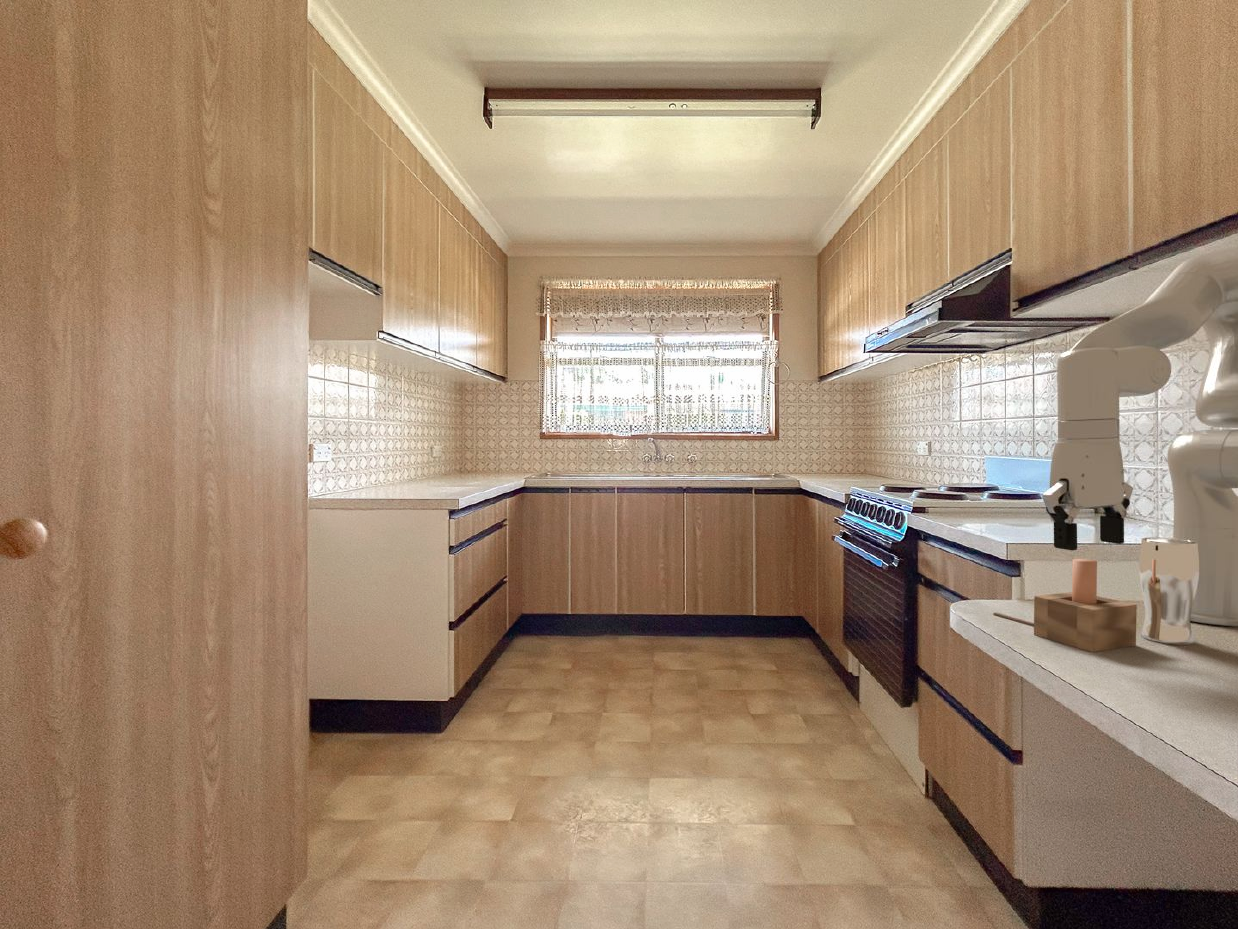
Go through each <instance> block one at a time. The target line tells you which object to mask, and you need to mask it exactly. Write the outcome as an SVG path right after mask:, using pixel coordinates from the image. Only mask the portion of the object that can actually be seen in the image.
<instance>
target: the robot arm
mask: <svg viewBox="0 0 1238 929" xmlns="http://www.w3.org/2000/svg"><path fill="white" fill-rule="evenodd" d="M1202 327H1203V330H1204V332H1205V335H1206V337H1207V339H1208V343H1209V355H1208V360H1207V363H1206V367H1205V371H1204V373H1203V376H1202V380H1201V383H1200V386H1199V390H1198V393H1197V396H1196V401H1195V405H1194V406H1195V408H1194V409H1195V417H1196V418H1197V419H1198V420H1199V421H1200V422H1201V423H1202V424H1204V425H1205V426H1209V427H1214V428H1221V429H1203V430H1195V431H1190V432H1186V433H1183V434H1181V435H1179V436H1178V437H1176V438H1175V439H1173V440H1172V442H1171V443H1170V445H1169V447H1168V450H1167V454H1166V456H1167V466H1168V470H1169V475H1170V479H1171V483H1172V484H1171V485H1172V486H1171V487H1172V494H1173V532H1172V533H1173V534H1172V538H1176V539H1185V540H1191V541H1196V542H1198V553H1199V581H1198V587H1197V591H1196V595H1195V599H1194V603H1193V607H1192V611H1191V622H1194V623H1199V624H1208V625H1214V626H1215V625H1216V626H1226V627H1227V626H1228V627H1238V495H1237V494H1236V492H1235V491H1234V490H1233V489H1238V246H1234V247H1229V248H1225V249H1221V250H1215V251H1212V252H1207V253H1203V254H1199V255H1196V256H1193V257H1191V258H1189V259H1187V260H1185V261H1183V262H1182V263H1181V264H1179V265H1178V266H1177V267H1176V268H1175V269H1174V270H1173V271H1172V272H1171V273H1170V274H1169V275H1168V277H1167V278H1166V279H1165V280H1164V281H1163V282H1162V283H1161V284H1160V285H1159V286H1158V287H1157V289H1155V291H1154V292H1153V293H1151V295H1150V296H1149V297H1148V298H1147V299H1146V300H1145V301H1144V302H1143V303H1142V304H1140V305H1138V306H1136V307H1135V308H1132V309H1129V310H1128V311H1126V312H1124V313H1122V314H1121V315H1119V316H1117V317H1115V318H1113V319H1111V320H1109V321H1107V322H1106V323H1104V324H1101V325H1100V326H1098V327H1096V328H1095V329H1093V330H1092V331H1089V333H1087V334H1086V335H1085V336H1083V337H1082V338H1081V339H1079V341H1078V342H1076V344H1075V345H1074V346H1073V347H1072V348H1070V350H1068V351H1065V352H1063V353H1061V354H1060V355H1059V357H1058V358H1057V362H1056V363H1057V364H1056V366H1057V367H1056V368H1057V369H1056V370H1057V371H1056V374H1057V375H1056V383H1057V392H1056V393H1057V442H1054V448H1053V451H1052V456H1051V463H1050V472H1049V474H1050V475H1049V489H1047V491H1045V492H1044V493H1042V501H1043V503H1044V506H1045V507H1046V508H1045V511H1046V512H1047V514H1048V515H1049V517H1050V518H1049V519H1050V521H1051V522H1053V546H1054V548H1055V549H1060V550H1067V551H1077V549H1078V524H1077V523H1078V522H1077V523H1075V522H1074V521H1075V519H1076V518H1077V516H1078V514H1079V513H1080V510H1091V509H1099V510H1100V511H1101V513H1102V514H1103V515H1100V516H1099V528H1100V529H1099V540H1100V541H1101V542H1102V543H1109V544H1117V545H1122V544H1124V543H1125V518H1126V517H1127V515H1128V513H1127V509H1128V508H1129V506H1130V503H1131V501H1130V500H1131V497H1132V494H1133V490H1134V488H1133V486H1132V485H1131V484H1129V483H1127V482H1126V481H1125V474H1124V473H1125V472H1124V461H1123V454H1122V449H1121V445H1120V444H1121V443H1120V436H1121V435H1120V430H1121V427H1120V398H1129V397H1141V396H1147V395H1151V394H1154V393H1155V392H1158V391H1159V390H1161V389H1162V388H1164V386H1165V385H1167V383H1168V381H1169V380H1170V378H1171V375H1172V374H1171V373H1172V363H1171V360H1170V359H1169V357H1168V356H1167V354H1166V353H1165V352H1163V351H1162V350H1163V349H1167V348H1170V347H1172V346H1176V345H1177V344H1178V345H1179V344H1180V343H1182V342H1185V341H1187V340H1188V339H1190V338H1192V337H1193V336H1194V335H1196V334H1197V332H1198V331H1199V330H1200V329H1201V328H1202ZM1225 428H1226V429H1225ZM1227 428H1228V429H1227ZM1230 428H1231V429H1230ZM1065 510H1068V511H1065Z"/></svg>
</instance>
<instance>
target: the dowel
mask: <svg viewBox="0 0 1238 929" xmlns="http://www.w3.org/2000/svg"><path fill="white" fill-rule="evenodd" d="M1071 572H1072V574H1071V575H1072V577H1071V578H1072V580H1071V581H1072V582H1071V583H1072V584H1071V585H1072V586H1071V588H1072V589H1071V592H1072V601H1073V602H1077V603H1081V604H1086V605H1094V604H1096V600H1097V596H1098V595H1097V592H1098V590H1097V589H1098V587H1097V586H1098V580H1097V579H1098V560H1094V559H1089V558H1088V559H1087V558H1072V571H1071Z"/></svg>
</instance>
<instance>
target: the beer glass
mask: <svg viewBox="0 0 1238 929" xmlns="http://www.w3.org/2000/svg"><path fill="white" fill-rule="evenodd" d="M1138 559H1139V560H1138V576H1139V581H1140V582H1139V583H1140V588H1141V593H1142V594H1141V595H1142V598H1143V603H1144V604H1143V605H1144V620H1143V624H1142V628H1141V632H1140V633H1141V634H1140V635H1141V637H1143V638H1144V639H1145V640H1149V641H1151V642H1156V643H1161V644H1166V645H1173V646H1174V645H1175V646H1190V645H1193V644H1194V634H1193V630H1192V624H1191V622H1192V621H1191V611H1192V607H1193V603H1194V599H1195V595H1196V591H1197V587H1198V581H1199V553H1198V542H1196V541H1191V540H1185V539H1176V538H1173V537H1172V538H1171V537H1157V536H1156V537H1154V536H1153V537H1141V544H1140V551H1139V558H1138Z"/></svg>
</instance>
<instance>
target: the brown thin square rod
mask: <svg viewBox="0 0 1238 929" xmlns="http://www.w3.org/2000/svg"><path fill="white" fill-rule="evenodd" d="M992 614H993V616H996V617H1000V618H1003V619H1007V620H1010V619H1011V621H1014V620H1015V621H1014V622H1017V621H1018V623H1021V624H1024V625H1028V626H1031V627H1034V622H1031V621H1028V620H1025V619H1022V618H1021V619H1020V618H1017V617H1013V616H1011V615H1007V614H1002V613H999V612H993V613H992Z"/></svg>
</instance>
